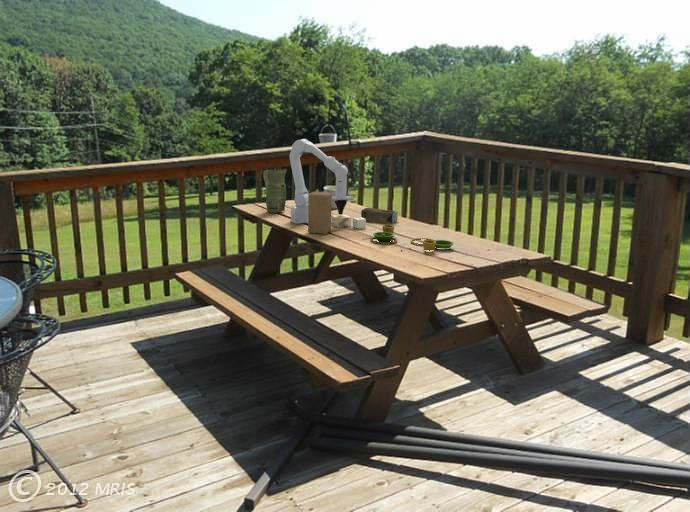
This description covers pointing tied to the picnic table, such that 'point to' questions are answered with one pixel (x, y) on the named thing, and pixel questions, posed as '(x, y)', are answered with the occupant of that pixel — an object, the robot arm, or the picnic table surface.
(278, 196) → the green vase
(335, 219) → the plain block
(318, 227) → the block
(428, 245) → the tableware set
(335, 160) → the robot arm
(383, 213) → the beverage carton
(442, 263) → the picnic table surface
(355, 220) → the numbered cube seven
